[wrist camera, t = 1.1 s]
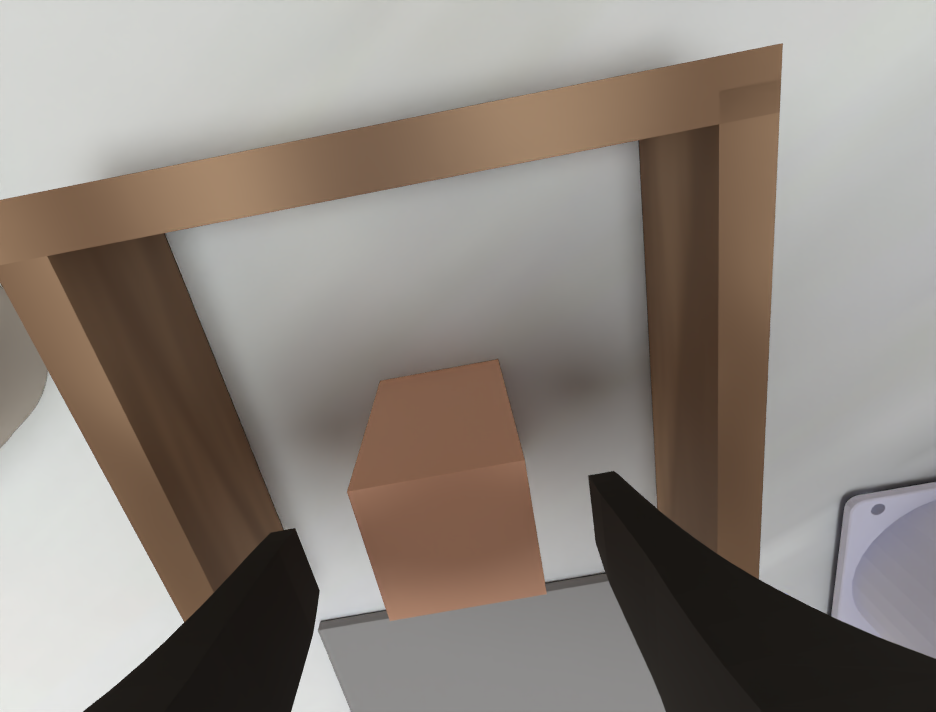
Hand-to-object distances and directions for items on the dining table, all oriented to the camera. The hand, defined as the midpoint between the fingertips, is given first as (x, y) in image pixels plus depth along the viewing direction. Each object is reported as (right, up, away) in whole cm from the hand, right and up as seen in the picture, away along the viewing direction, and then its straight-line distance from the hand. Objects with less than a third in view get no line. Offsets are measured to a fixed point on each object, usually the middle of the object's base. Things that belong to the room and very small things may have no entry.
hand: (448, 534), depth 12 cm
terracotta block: (0, +2, +5) cm, 6 cm away
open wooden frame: (0, +3, +5) cm, 6 cm away
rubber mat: (+2, -10, +10) cm, 14 cm away
